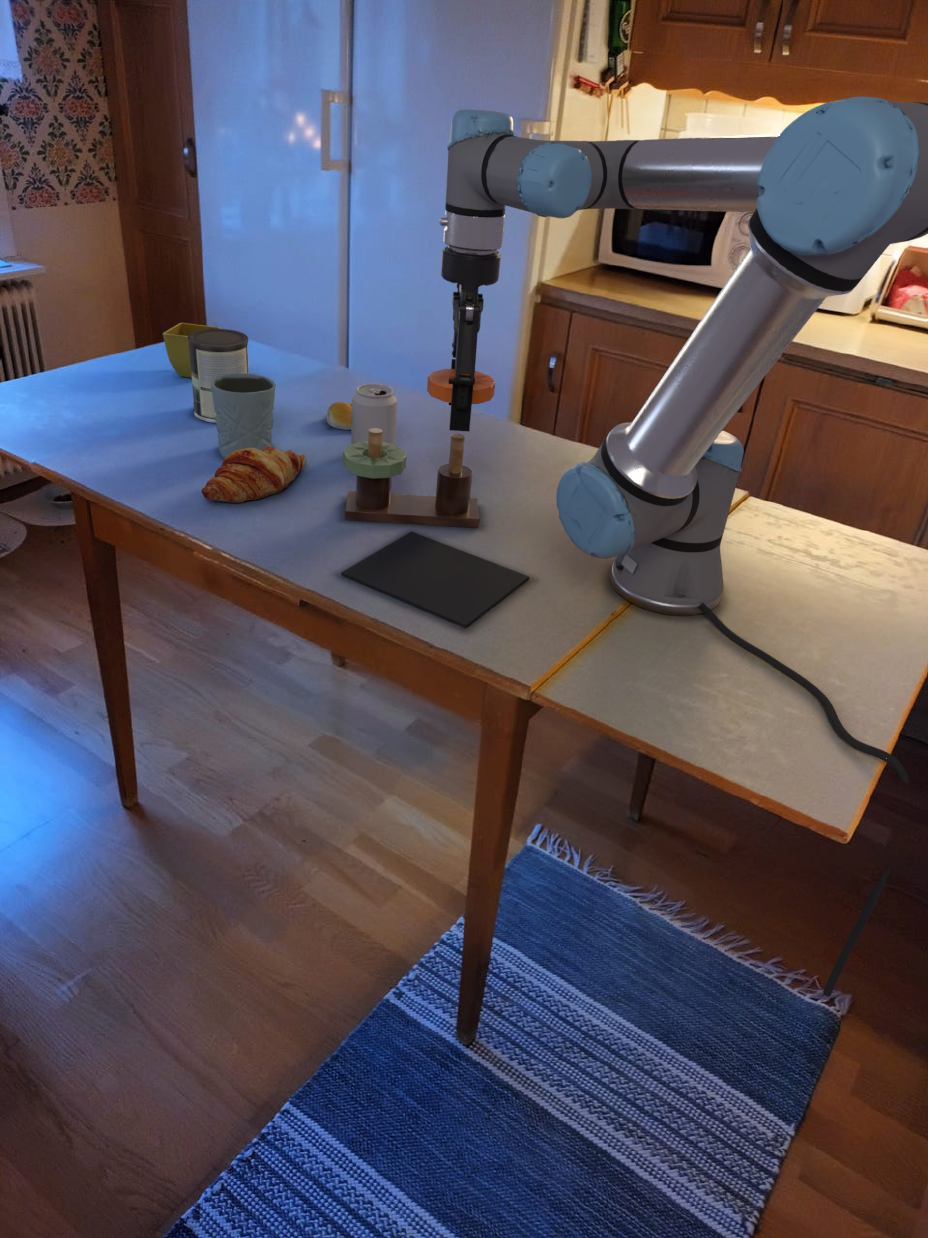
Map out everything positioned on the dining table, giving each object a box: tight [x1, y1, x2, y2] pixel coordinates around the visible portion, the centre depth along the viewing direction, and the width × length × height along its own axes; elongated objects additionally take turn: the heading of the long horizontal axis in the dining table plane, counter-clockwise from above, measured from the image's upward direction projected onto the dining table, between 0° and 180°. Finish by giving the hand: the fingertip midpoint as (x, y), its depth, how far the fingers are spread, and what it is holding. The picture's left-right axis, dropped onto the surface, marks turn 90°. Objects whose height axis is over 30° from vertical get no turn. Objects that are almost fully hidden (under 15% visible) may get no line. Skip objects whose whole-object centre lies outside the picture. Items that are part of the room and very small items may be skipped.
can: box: [350, 383, 398, 446], centre depth 155 cm, size 8×8×12 cm
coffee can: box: [188, 328, 250, 424], centre depth 166 cm, size 10×10×14 cm
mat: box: [341, 531, 530, 629], centre depth 125 cm, size 20×16×1 cm
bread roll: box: [325, 401, 352, 431], centre depth 170 cm, size 8×9×4 cm
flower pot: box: [162, 322, 222, 379], centre depth 184 cm, size 9×9×9 cm
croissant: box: [201, 446, 307, 504], centre depth 143 cm, size 21×10×8 cm, turn 146°
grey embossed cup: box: [211, 373, 276, 459], centre depth 152 cm, size 10×10×12 cm
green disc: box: [342, 442, 407, 478], centre depth 136 cm, size 9×9×2 cm
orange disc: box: [426, 368, 496, 405], centre depth 127 cm, size 9×9×2 cm
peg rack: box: [344, 428, 480, 529], centre depth 137 cm, size 20×7×13 cm, turn 92°
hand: (458, 416), depth 130 cm, fingers closed on orange disc, 9 cm apart
